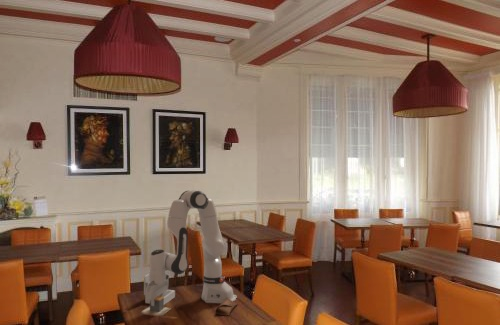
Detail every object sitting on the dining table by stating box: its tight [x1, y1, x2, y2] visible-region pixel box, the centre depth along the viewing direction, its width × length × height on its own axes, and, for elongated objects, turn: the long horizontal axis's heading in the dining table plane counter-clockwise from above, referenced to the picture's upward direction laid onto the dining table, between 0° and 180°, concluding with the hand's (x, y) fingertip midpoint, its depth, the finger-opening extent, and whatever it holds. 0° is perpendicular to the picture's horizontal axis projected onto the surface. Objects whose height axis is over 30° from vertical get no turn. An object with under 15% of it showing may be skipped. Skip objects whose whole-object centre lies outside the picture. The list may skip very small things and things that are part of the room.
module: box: [149, 296, 165, 312], centre depth 224 cm, size 6×5×7 cm
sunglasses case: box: [215, 298, 239, 316], centre depth 229 cm, size 18×7×7 cm, turn 166°
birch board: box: [140, 305, 172, 317], centre depth 224 cm, size 14×10×1 cm
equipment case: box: [143, 273, 176, 306], centre depth 240 cm, size 13×15×17 cm
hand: (156, 302), depth 224 cm, fingers open, 7 cm apart
